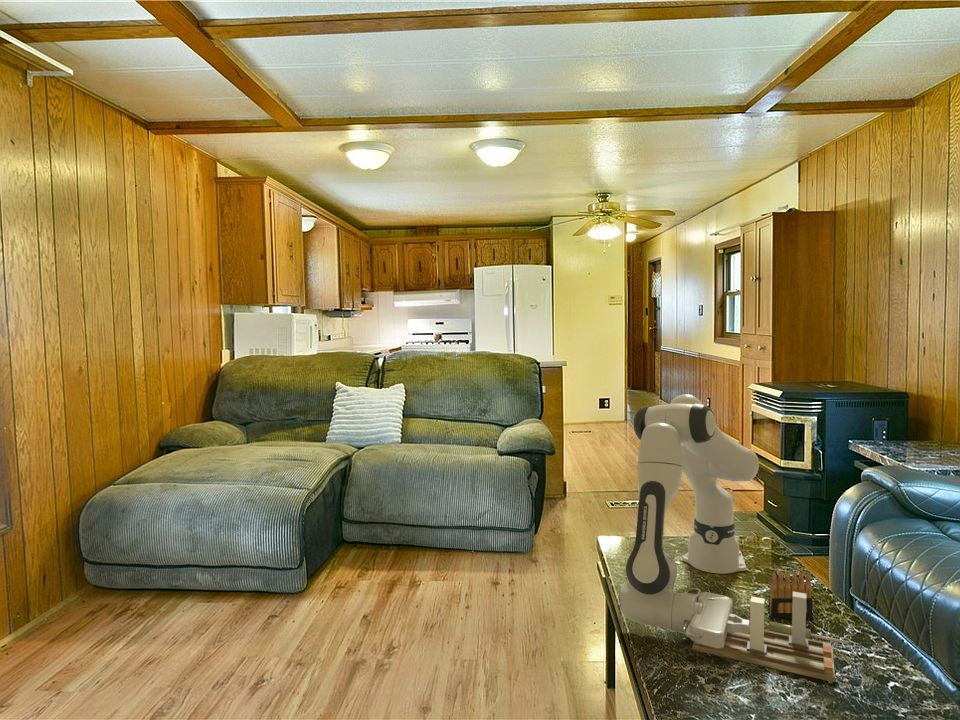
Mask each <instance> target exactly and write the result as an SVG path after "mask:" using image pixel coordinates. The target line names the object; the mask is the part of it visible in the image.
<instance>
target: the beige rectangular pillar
mask: <svg viewBox="0 0 960 720" xmlns="http://www.w3.org/2000/svg"><path fill="white" fill-rule="evenodd" d="M765 601H766V599H765V598H762V597H756V596H751V598H750V602H749V603H750V604H749V606H750V607H749V608H750V611H749V614H750V615H749V620H750V641H748V643H747V651H750V652H754V653H759V654H764V655H766V651H767V645H764V630H765V613H766V612H765V607H766V606H765V603H766V602H765Z"/></svg>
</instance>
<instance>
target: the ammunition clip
mask: <svg viewBox="0 0 960 720" xmlns="http://www.w3.org/2000/svg"><path fill="white" fill-rule="evenodd" d="M791 575H792V576H791ZM791 575H790V572H789V571H788V570H787V571H786V573H785V575H783V572H782V571H781V570H780V571H779V573H778V578H777V574H776V572H775V570H773V572H772V575H771V581H770V593H769V596H768V609H767V610H768V611H767V614H768V616H769V617H770V618H773V619H774V618H775V619H777V618H778V619H779V618H780V619H782V618H785V619H787V618H789V619H790V618H791V619H792V604H793V591H794V592H799V593H805V594H806V619H807V618H808V619H809V618H813V598H812V581H811V580H812V579H811V573H810V571H809V570H807V572H806V574H805V577H804V572H803V571H802V570H800V572H799V575H798V578H797V573H796V571H795V570H793V572H792V574H791ZM790 576H791V577H790ZM784 577H785V578H784ZM804 578H805V579H804Z"/></svg>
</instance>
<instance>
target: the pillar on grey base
mask: <svg viewBox="0 0 960 720" xmlns="http://www.w3.org/2000/svg"><path fill="white" fill-rule="evenodd" d="M791 626H792V636H789V645H792V646H796V647H801V648H806V649H808V639H805V637H806V629H807V618H806V594H805V593H799V592H794V591H793V604H792V618H791Z"/></svg>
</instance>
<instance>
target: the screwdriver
mask: <svg viewBox="0 0 960 720" xmlns="http://www.w3.org/2000/svg"><path fill="white" fill-rule="evenodd" d="M768 624H769V625H768V631H772V632H777V633H782V634H787V635H792V624H791V625H790V624H787V623H786V624H785V623H780V622H775V621H769V622H768ZM811 631H812V630H811V628H806V637H805V638H807V639H811V638H815V639H816V638H817V639H820V640H826V641H830V642H836V643H841V644H845V645H850V641H849V640H844V639H839V638H834V637H829V636H826V635H825V636H824V635H819V634H816V633H815V634H814V633H811Z"/></svg>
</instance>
